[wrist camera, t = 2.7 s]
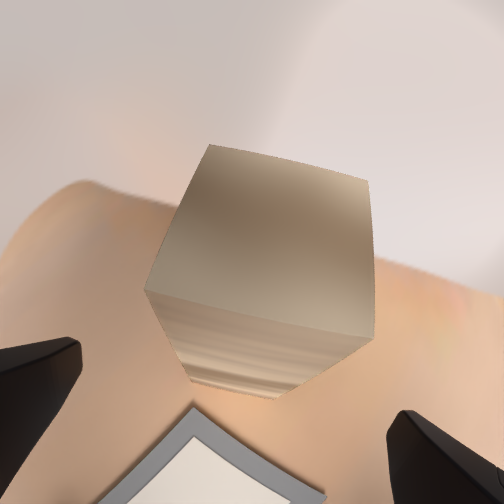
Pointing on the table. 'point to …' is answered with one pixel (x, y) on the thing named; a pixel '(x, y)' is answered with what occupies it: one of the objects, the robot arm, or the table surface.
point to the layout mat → (207, 472)
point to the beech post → (265, 272)
